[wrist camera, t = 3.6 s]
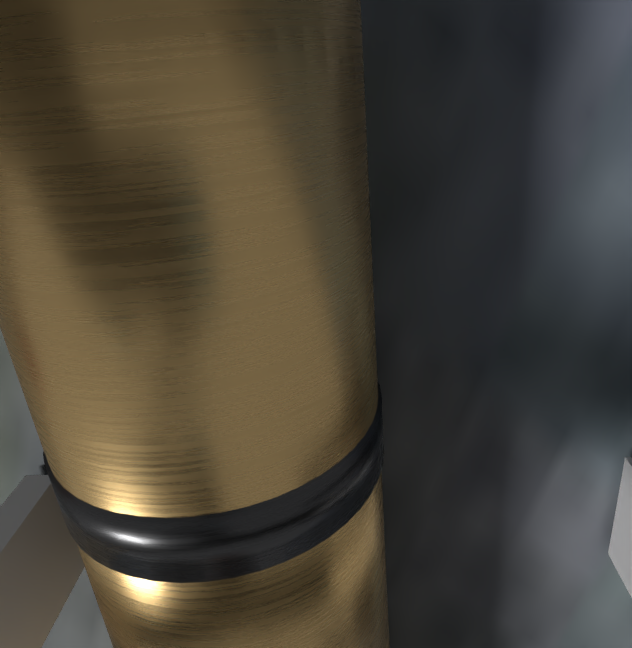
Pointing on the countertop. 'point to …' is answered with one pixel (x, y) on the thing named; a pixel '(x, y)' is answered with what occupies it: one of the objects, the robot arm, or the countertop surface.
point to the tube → (199, 311)
